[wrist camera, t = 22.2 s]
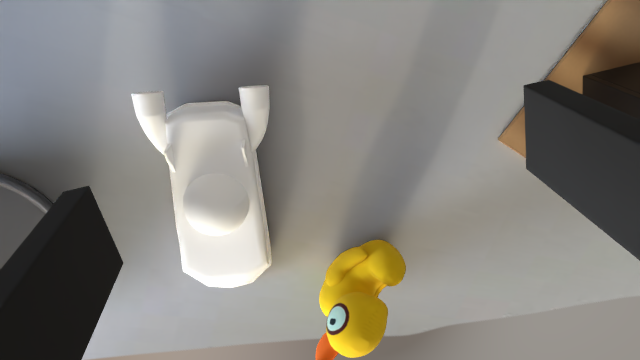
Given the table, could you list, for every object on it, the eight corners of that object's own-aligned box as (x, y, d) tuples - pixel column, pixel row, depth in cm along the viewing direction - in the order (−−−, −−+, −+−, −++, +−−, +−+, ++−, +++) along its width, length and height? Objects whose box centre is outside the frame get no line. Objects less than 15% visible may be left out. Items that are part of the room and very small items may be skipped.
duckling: (331, 319, 52) (344, 396, 43) (291, 293, 51) (296, 368, 42) (407, 244, 50) (439, 310, 40) (368, 214, 48) (391, 276, 39)
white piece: (176, 287, 49) (165, 328, 44) (138, 83, 41) (119, 103, 36) (283, 278, 50) (285, 317, 45) (268, 76, 42) (268, 94, 36)
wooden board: (602, 208, 50) (604, 210, 50) (497, 139, 46) (499, 140, 45) (765, 29, 44) (769, 30, 43) (661, -69, 40) (665, -69, 39)
